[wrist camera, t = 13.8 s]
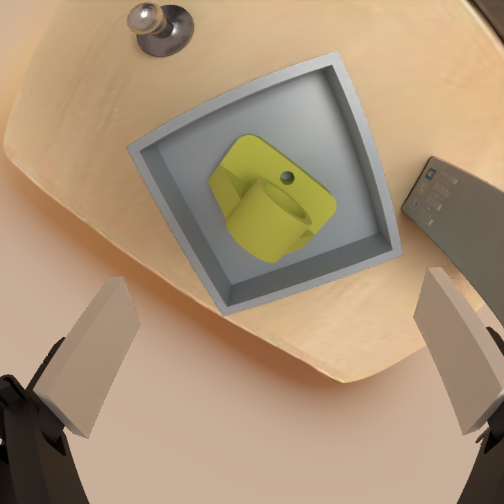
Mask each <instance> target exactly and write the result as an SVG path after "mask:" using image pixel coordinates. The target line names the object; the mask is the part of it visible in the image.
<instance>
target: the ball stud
mask: <svg viewBox="0 0 504 504" xmlns="http://www.w3.org/2000/svg"><path fill="white" fill-rule="evenodd" d="M127 25H128V27H129V29H130V30H131V31H132V32H134V33H136V34H137V41H138V44H139V46H140V47H141V49H142V50H143V51H145V52H146V53H148V54H151V55H154V56H168V55H171V54H174V53H176V52H178V51H179V50H181V49H182V48H183V47H184V46H185V45H186V44H187V43H188V42H189V40H190V39H191V37H192V34H193V31H194V21H193V18H192V16H191V15H190V14H189V13H188V12H187V11H186V10H185V9H184V8H182V7H180V6H176V5H165V6H161V7H159V6H158V5H157V4H155V3H151V2H145V3H141V4H138V5H137V6H135V7H134V8H133V9H132V10H131V11H130V12H129V14H128V16H127Z"/></svg>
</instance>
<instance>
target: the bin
mask: <svg viewBox="0 0 504 504" xmlns="http://www.w3.org/2000/svg"><path fill="white" fill-rule="evenodd" d="M246 134H253V135H256V136H260V137H262V138H263V139H264V140H266V141H267V142H268V143H270V144H271V145H272V146H274V147H275V148H276V149H278V150H279V151H280V152H282V153H283V154H284V155H286V156H287V157H288V158H290V159H291V160H292V161H293V162H295V163H296V164H297V165H299V166H300V167H301V168H302V169H304V170H305V171H306V172H307V173H309V174H310V175H311V176H312V177H314V178H315V179H316V180H317V181H318V182H320V183H321V184H322V185H323V186H324V187H326V188H327V189H328V190H329V192H330V193H331V194H332V196H333V197H334V199H335V200H336V204H337V208H336V211H335V213H334V214H333V215H332V217H331V218H330V219H329V220H328V221H327V222H326V223H325V224H324V225H323V226H322V228H321V229H320V230H319V231H318V232H317V233H316V234H315V235H314V236H313V237H312V238H311V239H310V241H309V242H308V243H307V244H306V245H305V246H304V247H303V248H302V249H300V250H297V251H294V252H291V253H289V254H286V255H283V256H282V257H281V259H280V260H279V261H278V262H276V263H268V262H265V261H262V260H260V259H258V258H256V257H255V256H253V255H252V254H250V253H249V252H247V251H246V250H245V249H244V248H243V247H241V246H240V245H239V244H238V243H237V242H236V241H235V239H234V238H233V237H232V236H231V234H230V233H229V231H228V229H227V227H226V223H225V220H226V218H225V216H224V214H223V212H222V210H221V208H220V206H219V204H218V202H217V200H216V198H215V196H214V193H213V191H212V189H211V187H210V185H209V183H208V180H209V178H210V177H211V176H212V174H213V173H214V171H215V170H216V169H217V167H218V166H219V164H220V163H221V162H222V160H223V159H224V157H225V156H226V155H227V153H228V152H229V151H230V149H231V148H232V147H233V145H234V144H235V143H236V141H237V140H238V139H239V138H240V137H242V136H243V135H246ZM126 148H127V150H128V152H129V154H130V156H131V158H132V160H133V162H134V164H135V166H136V168H137V169H138V171H139V173H140V175H141V177H142V179H143V181H144V183H145V184H146V186H147V188H148V190H149V192H150V194H151V196H152V197H153V199H154V201H155V203H156V205H157V207H158V208H159V210H160V212H161V214H162V215H163V217H164V219H165V221H166V223H167V224H168V226H169V228H170V230H171V231H172V233H173V235H174V237H175V238H176V240H177V242H178V243H179V245H180V247H181V249H182V250H183V252H184V254H185V255H186V257H187V259H188V260H189V262H190V264H191V265H192V267H193V269H194V270H195V272H196V274H197V275H198V277H199V279H200V280H201V282H202V284H203V285H204V287H205V288H206V290H207V292H208V293H209V295H210V296H211V298H212V300H213V301H214V303H215V304H216V306H217V308H218V309H219V311H220V312H221V314H222V315H223V316H226V315H229V314H233V313H236V312H239V311H243V310H246V309H249V308H252V307H256V306H259V305H262V304H265V303H268V302H272V301H275V300H278V299H281V298H284V297H287V296H290V295H293V294H296V293H299V292H302V291H305V290H308V289H311V288H314V287H317V286H320V285H323V284H326V283H328V282H331V281H334V280H337V279H340V278H343V277H345V276H348V275H351V274H354V273H357V272H359V271H362V270H365V269H367V268H370V267H373V266H375V265H378V264H381V263H383V262H386V261H389V260H391V259H394V258H396V257H399V256H401V255H403V252H402V247H401V241H400V236H399V231H398V227H397V222H396V218H395V213H394V209H393V205H392V201H391V197H390V193H389V189H388V185H387V181H386V178H385V174H384V171H383V167H382V164H381V161H380V157H379V154H378V151H377V148H376V145H375V142H374V138H373V136H372V133H371V130H370V127H369V124H368V121H367V118H366V116H365V113H364V110H363V108H362V105H361V102H360V100H359V97H358V95H357V92H356V90H355V87H354V85H353V83H352V80H351V78H350V76H349V73H348V71H347V69H346V67H345V64H344V62H343V60H342V58H341V56H340V54H339V51H336V52H333V53H329V54H326V55H323V56H319V57H316V58H313V59H310V60H307V61H304V62H301V63H298V64H295V65H292V66H289V67H286V68H283V69H281V70H278V71H275V72H273V73H270V74H268V75H265V76H263V77H260V78H258V79H255V80H253V81H250V82H248V83H246V84H243V85H241V86H239V87H236V88H234V89H232V90H230V91H227V92H225V93H223V94H221V95H219V96H217V97H215V98H213V99H210V100H208V101H206V102H204V103H202V104H200V105H198V106H196V107H194V108H193V109H191V110H189V111H187V112H185V113H183V114H181V115H179V116H177V117H176V118H174V119H172V120H170V121H168V122H167V123H165V124H163V125H161V126H160V127H158V128H156V129H155V130H153V131H151V132H149V133H148V134H146V135H144V136H143V137H141V138H140V139H138V140H136V141H135V142H133V143H132V144H130V145H128V146H127V147H126ZM292 175H293V173H292V172H290V171H285V172H283V173H282V174H281V178H283V179H290V178H291V177H292Z"/></svg>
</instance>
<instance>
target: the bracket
mask: <svg viewBox="0 0 504 504" xmlns="http://www.w3.org/2000/svg"><path fill="white" fill-rule="evenodd" d="M285 171H290V172H292V173H293V175H292V177H291V178H290V179H283V178H281V174H282V173H283V172H285ZM208 183H209V185H210V187H211V189H212V191H213V193H214V196H215V198H216V200H217V202H218V204H219V206H220V208H221V210H222V212H223V214H224V216H225V218H226V220H225V223H226V227H227V229H228V231H229V233H230V234H231V236H232V237H233V238H234V239H235V241H236V242H237V243H238V244H239V245H240V246H241V247H243V248H244V249H245V250H246V251H247V252H249V253H250V254H252V255H253V256H255V257H256V258H258V259H260V260H262V261H265V262H268V263H276V262H278V261H279V260H280V259H281V257H282V256H283V255H286V254H289V253H291V252H294V251H297V250H300V249H302V248H303V247H304V246H305V245H306V244H307V243H308V242H309V241H310V239H311V238H312V237H313V236H314V235H315V234H316V233H317V232H318V231H319V230H320V229H321V228H322V226H323V225H324V224H325V223H326V222H327V221H328V220H329V219H330V218H331V217H332V215H333V214H334V213H335V211H336V208H337V204H336V200H335V199H334V197H333V196H332V194H331V193H330V192H329V190H328V189H327V188H326V187H324V186H323V185H322V184H321V183H320V182H318V181H317V180H316V179H315V178H314V177H312V176H311V175H310V174H309V173H307V172H306V171H305V170H304V169H302V168H301V167H300V166H299V165H297V164H296V163H295V162H293V161H292V160H291V159H290V158H288V157H287V156H286V155H284V154H283V153H282V152H280V151H279V150H278V149H276V148H275V147H274V146H272V145H271V144H270V143H268V142H267V141H266V140H264V139H263V138H262V137H260V136H256V135H253V134H246V135H243V136H242V137H240V138H239V139H238V140H237V141H236V143H235V144H234V145H233V147H232V148H231V149H230V151H229V152H228V153H227V155H226V156H225V157H224V159H223V160H222V162H221V163H220V164H219V166H218V167H217V169H216V170H215V171H214V173H213V174H212V176H211V177H210V178H209V180H208Z"/></svg>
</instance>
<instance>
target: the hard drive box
mask: <svg viewBox="0 0 504 504" xmlns="http://www.w3.org/2000/svg"><path fill="white" fill-rule="evenodd" d="M402 211H403V212H404V213H405V214H406V215H407V216H408V217H409V218H410V219H411V220H412V221H413V222H414V223H415V224H416V225H417V226H418V227H419V228H420V229H421V230H422V231H423V232H424V233H425V234H426V235H427V236H428V237H429V238H430V239H431V240H432V241H433V242H434V243H435V244H436V245H437V246H438V247H439V248H440V249H441V251H442V252H443V253H444V254H445V255H446V256H447V257H448V258H449V259H450V260H451V261H452V263H453V264H454V265H455V266H456V267H457V268H458V269H459V271H460V272H461V273H462V274H463V275H464V276H465V278H466V279H467V280H468V281H469V282H470V284H471V285H472V286H473V287H474V289H475V290H476V291H477V292H478V294H479V295H480V296H481V297H482V299H483V300H484V301H485V303H486V304H487V305H488V306H489V308H490V309H491V310H492V312H493V313H494V314H495V316H496V317H497V319H498V320H499V322H500V323H501V324H502V326H503V328H504V192H503V191H502V190H500V189H498V188H497V187H495V186H493V185H491V184H490V183H488V182H486V181H484V180H482V179H480V178H479V177H477V176H475V175H473V174H471V173H469V172H467V171H465V170H463V169H461V168H459V167H457V166H455V165H453V164H451V163H449V162H447V161H445V160H442V159H440V158H438V157H435V156H434V157H433V158H431V159H430V161H429V162H428V164H427V166H426V168H425V170H424V171H423V173H422V175H421V177H420V178H419V180H418V182H417V184H416V185H415V187H414V189H413V191H412V192H411V194H410V196H409V197H408V199H407V201H406V202H405V204H404V206H403V208H402Z"/></svg>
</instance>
